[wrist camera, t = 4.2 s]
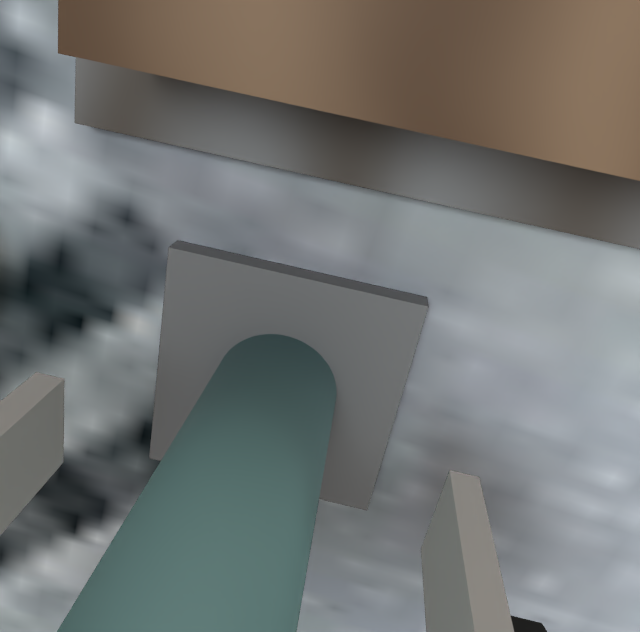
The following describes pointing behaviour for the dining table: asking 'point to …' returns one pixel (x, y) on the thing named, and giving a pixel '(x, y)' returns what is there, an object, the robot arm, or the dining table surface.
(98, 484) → the dining table surface
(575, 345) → the dining table surface
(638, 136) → the socket
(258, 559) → the peg
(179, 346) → the pad
